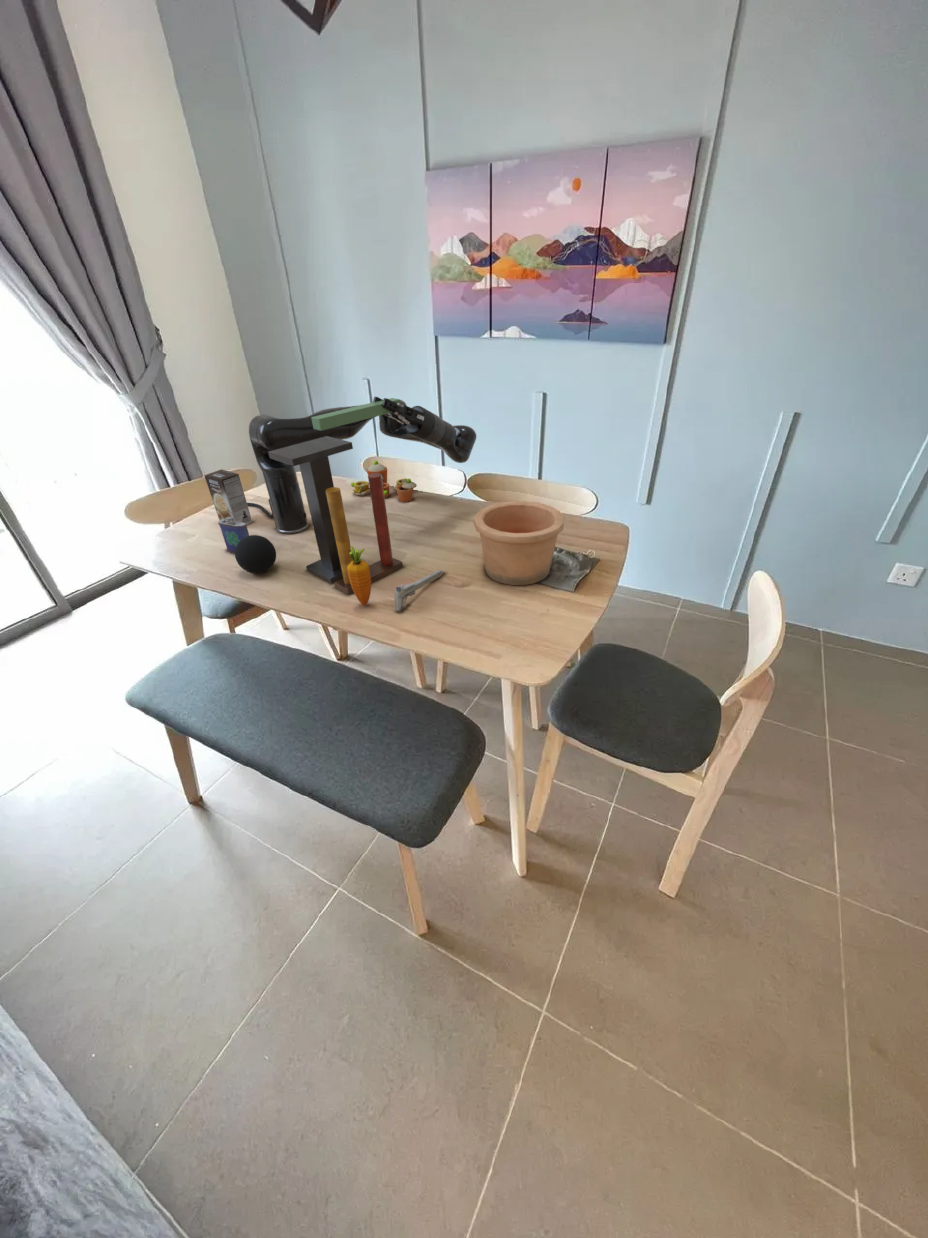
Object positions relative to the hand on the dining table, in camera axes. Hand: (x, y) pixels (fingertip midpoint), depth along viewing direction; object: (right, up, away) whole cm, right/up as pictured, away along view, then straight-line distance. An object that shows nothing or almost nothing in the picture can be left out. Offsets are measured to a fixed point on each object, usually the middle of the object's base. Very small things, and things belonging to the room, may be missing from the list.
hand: (379, 401), depth 119 cm
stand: (-13, -40, +12) cm, 43 cm away
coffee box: (-53, -22, +40) cm, 70 cm away
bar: (-4, -5, -2) cm, 7 cm away
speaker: (-34, -40, +13) cm, 54 cm away
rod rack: (-4, -42, +8) cm, 43 cm away
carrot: (-3, -50, -3) cm, 50 cm away
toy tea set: (-6, -7, +58) cm, 59 cm away
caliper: (+10, -46, +1) cm, 47 cm away
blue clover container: (-44, -34, +23) cm, 60 cm away
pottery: (+35, -40, +8) cm, 54 cm away
